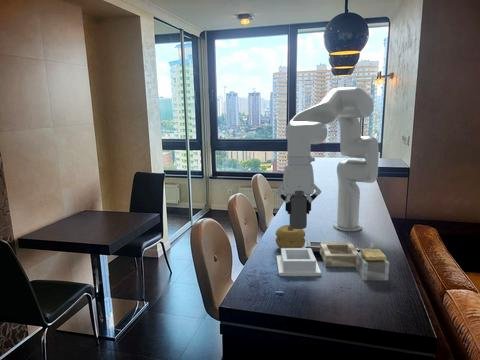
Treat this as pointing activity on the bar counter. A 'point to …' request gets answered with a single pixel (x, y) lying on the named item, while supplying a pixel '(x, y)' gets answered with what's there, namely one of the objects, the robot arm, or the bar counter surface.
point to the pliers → (366, 246)
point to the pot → (290, 237)
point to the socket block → (353, 261)
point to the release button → (373, 255)
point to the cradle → (297, 262)
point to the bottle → (298, 210)
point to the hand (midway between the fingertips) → (298, 212)
